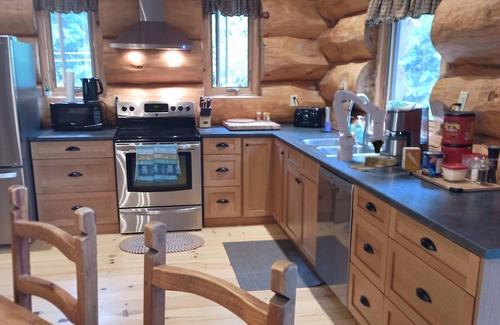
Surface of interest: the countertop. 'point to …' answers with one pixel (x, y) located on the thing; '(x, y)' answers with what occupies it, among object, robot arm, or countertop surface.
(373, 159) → the walnut block
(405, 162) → the small box
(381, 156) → the lid
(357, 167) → the puzzle board
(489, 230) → the countertop surface
